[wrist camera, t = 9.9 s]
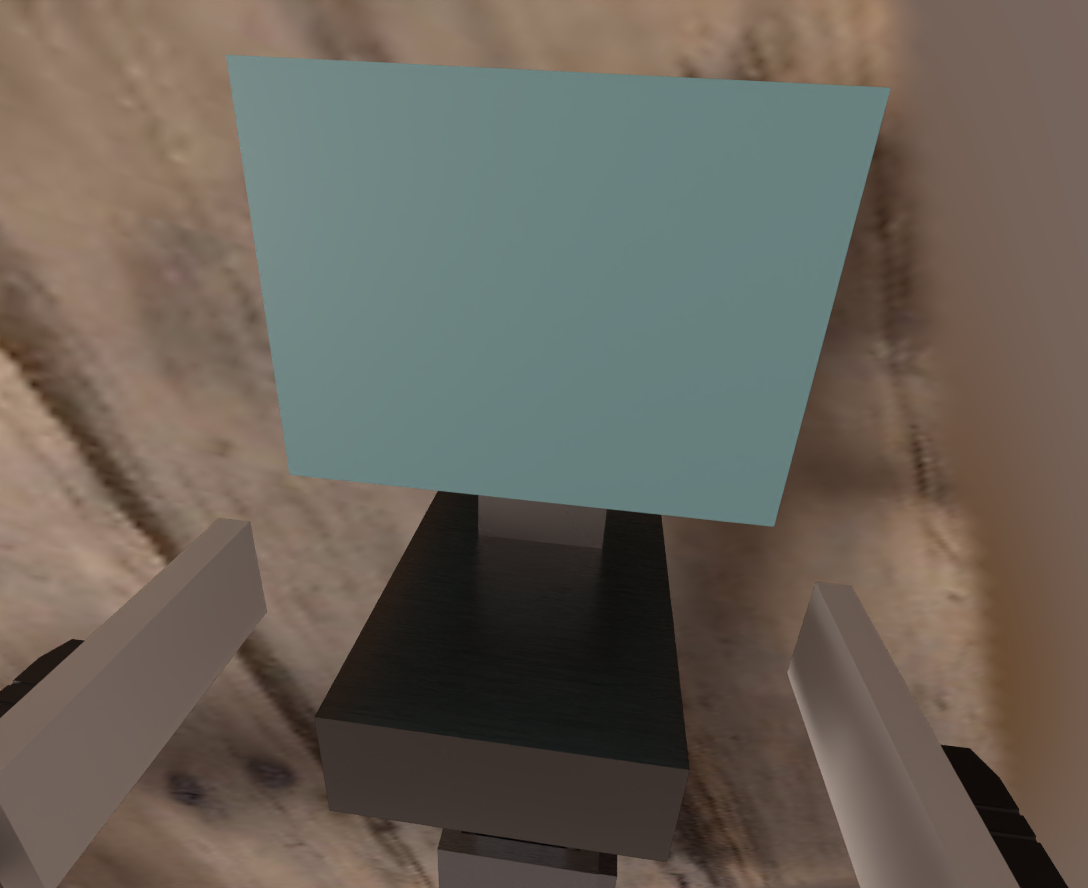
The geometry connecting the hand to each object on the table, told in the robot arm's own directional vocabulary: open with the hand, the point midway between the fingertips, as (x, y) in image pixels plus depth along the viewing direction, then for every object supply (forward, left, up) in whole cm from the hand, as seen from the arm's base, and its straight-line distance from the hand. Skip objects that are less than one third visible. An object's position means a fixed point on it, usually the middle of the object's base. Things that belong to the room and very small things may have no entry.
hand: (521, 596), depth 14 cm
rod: (-5, 0, -5) cm, 7 cm away
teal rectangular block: (+7, 0, -8) cm, 11 cm away
